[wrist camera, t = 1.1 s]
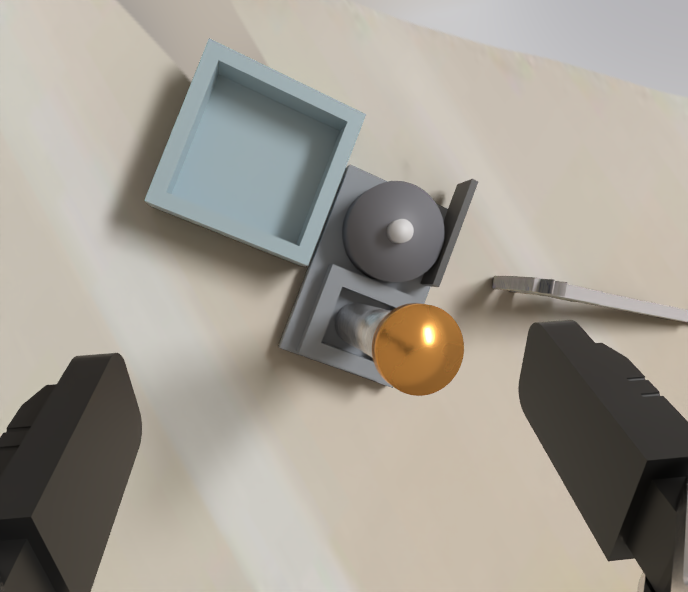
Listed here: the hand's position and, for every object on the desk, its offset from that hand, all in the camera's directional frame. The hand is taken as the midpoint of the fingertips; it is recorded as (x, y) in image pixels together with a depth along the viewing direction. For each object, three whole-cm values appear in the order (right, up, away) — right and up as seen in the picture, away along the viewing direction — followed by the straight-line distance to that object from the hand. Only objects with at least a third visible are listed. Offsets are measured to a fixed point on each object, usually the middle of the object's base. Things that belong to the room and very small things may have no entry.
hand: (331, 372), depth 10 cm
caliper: (+22, +1, +33) cm, 40 cm away
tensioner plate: (+2, +3, +28) cm, 28 cm away
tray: (-6, +11, +26) cm, 29 cm away
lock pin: (+1, 0, +27) cm, 27 cm away
